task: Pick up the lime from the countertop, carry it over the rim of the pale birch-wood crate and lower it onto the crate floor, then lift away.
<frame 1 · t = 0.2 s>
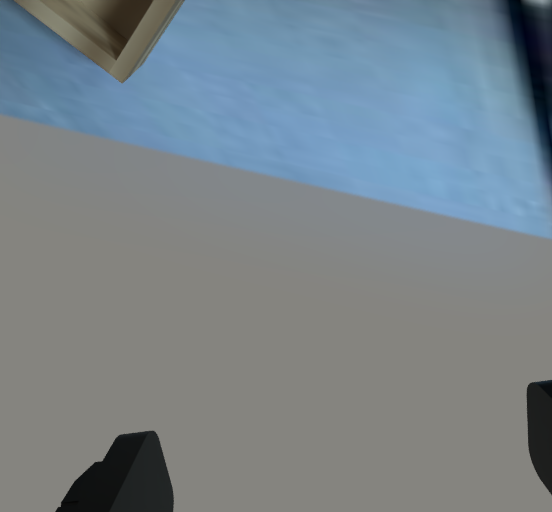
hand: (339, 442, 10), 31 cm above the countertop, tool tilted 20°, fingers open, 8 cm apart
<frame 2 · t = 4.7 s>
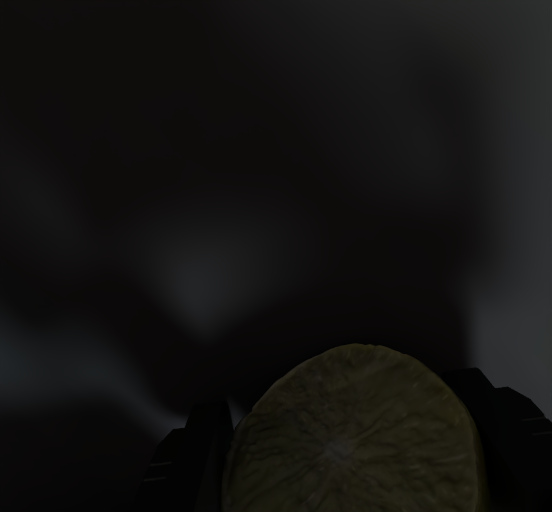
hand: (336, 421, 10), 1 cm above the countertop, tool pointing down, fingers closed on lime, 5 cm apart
lime: (341, 398, 11), on the countertop, touching gripper
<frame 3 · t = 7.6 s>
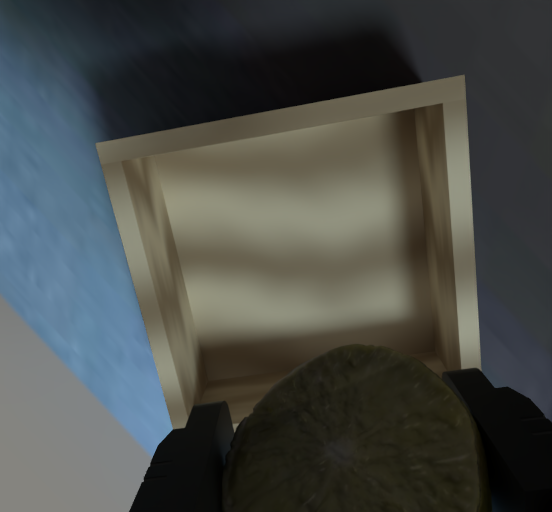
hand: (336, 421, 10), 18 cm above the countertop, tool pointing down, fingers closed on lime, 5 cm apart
crate: (301, 253, 28), on the countertop
lime: (341, 398, 11), point 17 cm above the countertop, touching gripper
when the fingers open (4 cm above the countertop, at t = 10.8 s): lime drops 2 cm, resting on crate.
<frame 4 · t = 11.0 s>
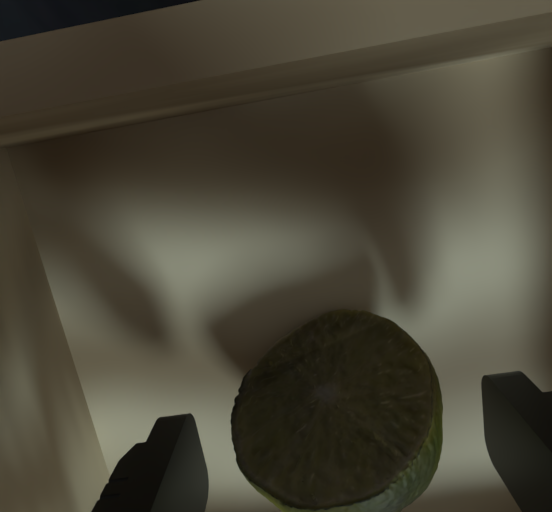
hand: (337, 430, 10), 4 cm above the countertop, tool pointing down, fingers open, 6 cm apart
crate: (324, 346, 14), on the countertop
lime: (331, 356, 13), point 1 cm above the countertop, touching crate
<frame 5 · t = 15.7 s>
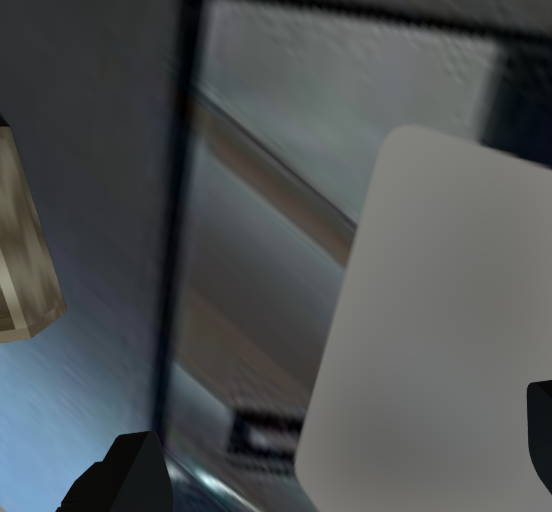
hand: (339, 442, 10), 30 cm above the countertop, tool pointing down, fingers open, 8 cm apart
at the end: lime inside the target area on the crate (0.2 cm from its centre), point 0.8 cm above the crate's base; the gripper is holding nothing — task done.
